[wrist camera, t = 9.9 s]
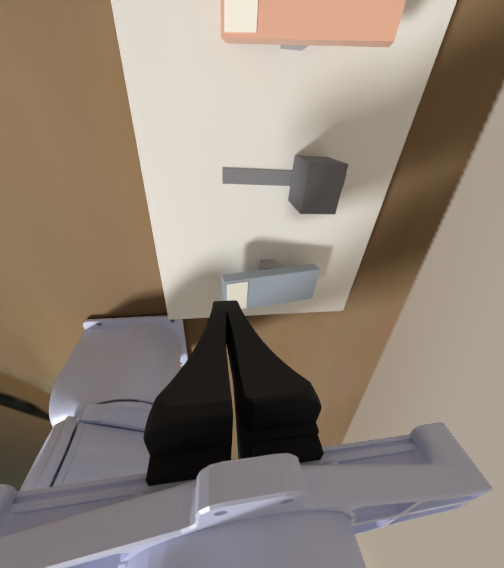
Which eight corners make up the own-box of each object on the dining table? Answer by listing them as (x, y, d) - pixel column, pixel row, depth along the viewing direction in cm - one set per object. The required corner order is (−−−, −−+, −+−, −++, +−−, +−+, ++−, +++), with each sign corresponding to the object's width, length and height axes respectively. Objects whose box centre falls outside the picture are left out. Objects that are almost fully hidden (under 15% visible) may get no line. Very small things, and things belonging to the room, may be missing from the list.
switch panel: (171, 306, 25) (166, 330, 22) (90, -181, 10) (44, -296, 7) (335, 298, 27) (349, 319, 25) (463, -88, 13) (533, -145, 10)
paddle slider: (287, 200, 18) (300, 213, 15) (294, 155, 16) (309, 162, 14) (318, 201, 18) (335, 214, 16) (327, 156, 17) (348, 164, 14)
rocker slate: (221, 305, 20) (224, 313, 19) (221, 274, 18) (224, 282, 17) (306, 291, 22) (312, 298, 21) (313, 263, 20) (320, 270, 20)
